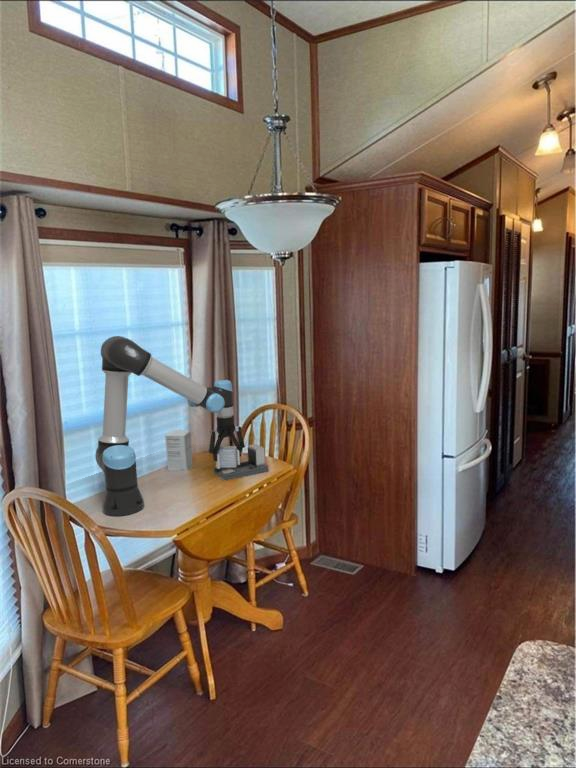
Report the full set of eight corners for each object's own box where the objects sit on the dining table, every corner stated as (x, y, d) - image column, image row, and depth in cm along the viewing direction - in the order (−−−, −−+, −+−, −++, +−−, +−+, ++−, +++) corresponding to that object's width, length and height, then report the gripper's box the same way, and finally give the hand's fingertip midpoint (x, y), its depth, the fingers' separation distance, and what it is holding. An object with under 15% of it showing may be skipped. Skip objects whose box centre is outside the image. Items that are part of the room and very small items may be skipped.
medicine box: (237, 464, 250) (236, 445, 249) (236, 468, 246) (235, 448, 245) (220, 464, 251) (219, 446, 250) (218, 468, 247) (217, 448, 245)
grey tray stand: (224, 480, 242) (222, 457, 240) (213, 473, 252) (212, 450, 251) (268, 471, 252) (267, 448, 250) (256, 464, 262) (255, 442, 260)
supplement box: (174, 464, 267) (171, 429, 264) (193, 464, 266) (190, 429, 263) (167, 471, 258) (164, 435, 255) (187, 471, 257) (184, 435, 254)
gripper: (244, 410, 253) (246, 459, 257) (198, 417, 243) (201, 468, 247) (251, 413, 247) (253, 463, 250) (204, 421, 236) (208, 472, 240)
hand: (228, 465), depth 249 cm, fingers closed on medicine box, 9 cm apart
